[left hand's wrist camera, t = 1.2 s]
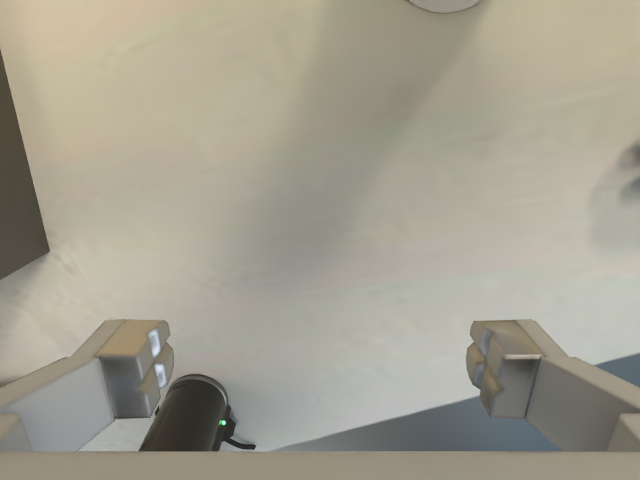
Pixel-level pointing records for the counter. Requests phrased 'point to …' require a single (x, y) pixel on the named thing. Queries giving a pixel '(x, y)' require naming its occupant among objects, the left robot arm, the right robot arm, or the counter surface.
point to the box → (16, 193)
